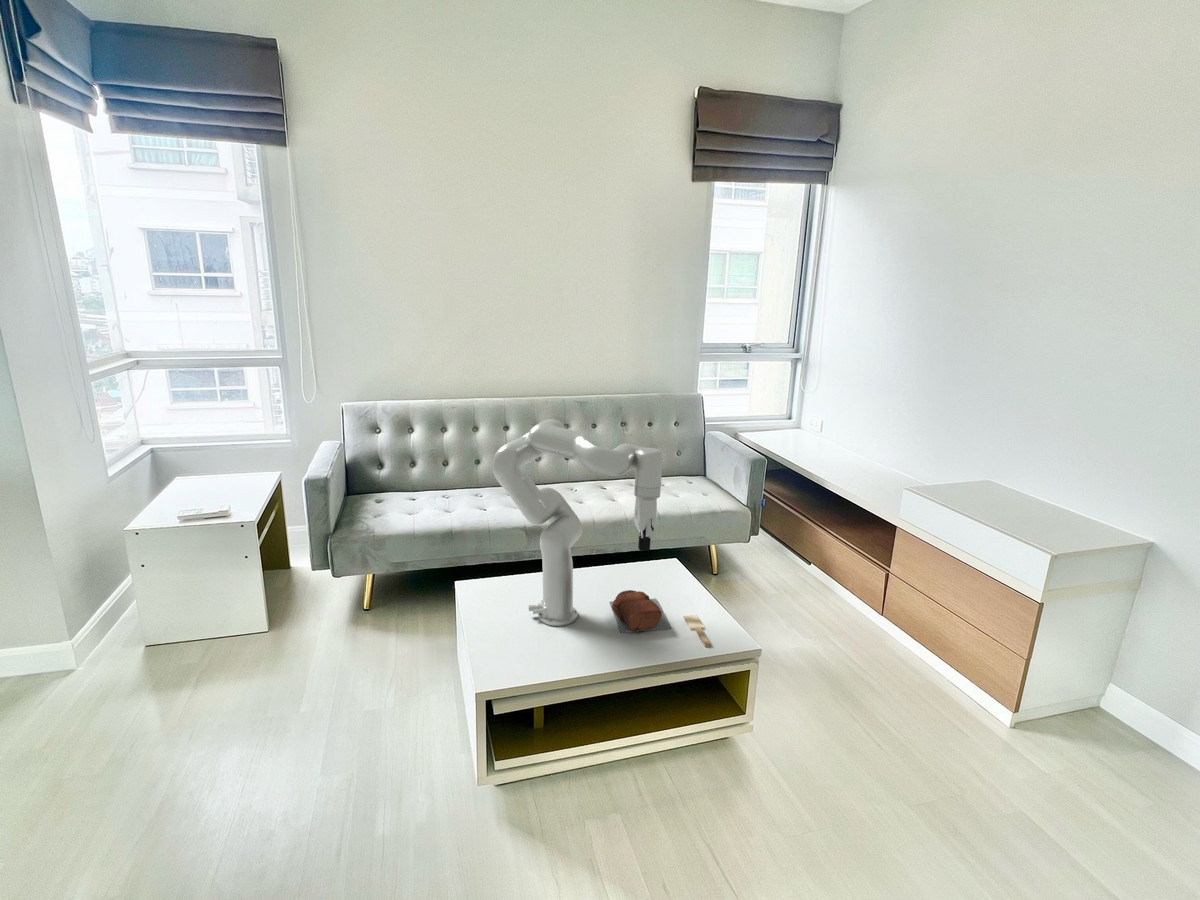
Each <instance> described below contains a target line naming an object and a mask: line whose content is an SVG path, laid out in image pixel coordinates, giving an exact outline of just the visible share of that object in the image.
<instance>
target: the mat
mask: <svg viewBox="0 0 1200 900" xmlns="http://www.w3.org/2000/svg"><path fill="white" fill-rule="evenodd" d="M649 599H650V600H652V601H653V602H655V603H656V604H657V605H658V607H659V608H660V610H661V612H662V616H661V618H660V621H659V622H658V624H657V625H656V626H655V627H654V628H652V629H646V630H643V631H642V632H647V631H659V630H672V625H671V624H670V622H669V620H668V618H667V617H666V615H665V612H664V611H663V609H662V607H661V605H660V603H659V600H658V599H657V598H649ZM613 602H614V600H612V601H609V605H610V608H611V611H612V614H613V616H614V619H615V623H616V624H617V627H618V630H619V633H633V632H634V633H635V632H640V631H639V630H636V631H631V630H630V629H629V627H628V626H627V624H626V623H625V622H623V621H621V620H620V619H619V618H618V617H617V615H616V614H615V612H614V611H613V610H612V604H613Z"/></svg>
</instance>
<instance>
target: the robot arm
mask: <svg viewBox="0 0 1200 900" xmlns="http://www.w3.org/2000/svg"><path fill="white" fill-rule="evenodd" d="M544 454H549V455H554V456H557V457H560V458H564V459H569V460H572V461H574V462H576V463H578V464H579V465H581V466H582V467H584V468H585V469H588V470H590V471H592V472H596V473H600V474H603V475H607V476H611V477H621V476H624V475H625V474H627V473H628V472H629V471H631V470H635V473H634V475H635V476H634V494H633V495H634V497H635V504H634V513H633V521H634V522H633V523H634V525H635V527H636V529H637V530H638V533H639V534H638V535H639V536H638V546H637V547H638V550H639V551H650V549H651V537H652V532H655V531H656V528H657V527H656V526H657V506H658V503H657V502H658V500H657V499H659V498H660V497H661V490H662V473H663V472H662V471H663V459H664V458H663V457H664V455H663V452H662V451H661V450H660V449H658V448H656V447H643V446H640V445H636V444H632V443H628V442H627V443H621V444H619V445H617V446H616V447H615V448H613V449H610V448H606V447H602V446H598V445H595V444H593V443H591V442H590V441H589V440H588V438H587V437H586V435H585V433H583V432H581V431H577V430H572V429H568V428H566V427H565V425H564V424H563V423H562V422H561V421H559V420H557V419H555V418H554V419H553V418H552V419H551V418H549V419H546V420H543V421H541V422H539V423H537V424H535V425H534V426H533V427H532V428H531V429H530V430H529V432H527V433H525V434H524V435H522V436H520V437H518V438H517V439H514V440H512V441H509V442H508V443H505V444H503V445H502V446H501V447H500V448H498V449H497V451H495V454H494V455H493V459H492V473H493V476H494V477H495V480H496V481H497V482H498V483H499V486H501V487H502V488H503V490H504V491H505V492H506V493H507V494H508V496H509V497H510V498H511V501H513V503H514V504H515V506H516V507H517V508H518V510H519V511H520V513H521V514H522V515H523V517H524V518H525V520H527V522H528V523H529V524H531V525H533V526H541V525H543V524H545V523H546V522H548V523H549V524H548V525H547V526H546V527H545V528H544V529H543V531H542V533H541V534H540V537H539V547H540V553H541V559H542V564H541V565H542V600H541V603H538V604H529V605H528V612H532V615H537V617H538V620H539V621H540V622H541V623H543V624H546V625H548V626H554V627H556V626H557V627H561V626H562V627H563V626H567V625H569V624H571V623H574V622H575V621H576V620H577V618H578V614H579V613H578V610H577V608H575V607H573V606H574V603H573V602H574V601H573V600H574V594H573V593H574V591H573V590H574V586H573V585H574V566H573V565H574V563H573V557H572V552H571V551H572V550H571V548H572V547H573V545H574V544H575V543H576V542H577V541H578V540H579V539H580V538H581V536H582V534H583V524H582V521H581V520H580V519H579V517H578V515H577V514H576V512H575V511H574V509H573V508H572V507H571V506H570V504H569V503H568V502H567V501H566V499H565V498H564V496H563V495H562V494H561V493H560V492H559V491H557V490H556V489H554V488H552V487H542V488H540V489H539V488H538V486H537V485H536V484H535V483H534V481H533V480H532V478H531V477H530V476H529V475H527V473H524V471H522V468H523V466H526V465H527V464H530V463H531V462H533V461H534V460H536V459H538V458H539V457H541V456H543V455H544Z"/></svg>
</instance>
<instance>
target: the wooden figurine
mask: <svg viewBox="0 0 1200 900" xmlns="http://www.w3.org/2000/svg"><path fill="white" fill-rule="evenodd" d="M650 599H651V598H650V596H649V595H648V594H647V593H645V592H643V591H636V590H631V589H629V590H623V591H621V592H619V593H618V594H617V595H616V596H615V599H614V600H613V601H614V602H613V604H612V608H611V611H612V610H613V611H614V612H615V614H616V615H617V617H618V618H619V619H620V620H621V621H623V622H625V623H626V624H627V626H628V627H629V629H630V630H631V631H635V632H637V631H636V630H639V631H638V632H644V631H643V630H646V629H652V628H654V627H655V626H656V625H657V624H658V622H659V621H660V618H661V616H662V612H661V610H660V608H659V607H658V605H657V604H656V603H655V602H653V601H652V600H650ZM613 611H612V612H613Z"/></svg>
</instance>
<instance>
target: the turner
mask: <svg viewBox="0 0 1200 900" xmlns="http://www.w3.org/2000/svg"><path fill="white" fill-rule="evenodd" d="M682 617H683V620H684V621H685V623H686V625H687V626H688V628H689V630H690V631H695V632H696V634H697V636H698V637H699V639H700V641H701V643H702V644H703V646H704V647H705V648H710V646H711V645H712V643H711V642H710V640H709V638H708V637H707V635H706V634H705V632H704V631H703V630H705V626H704V624H703V623H702V622H701V620H700V619H699V617H698V616H697V614H693V615H692V614H690V615H689V614H688V615H683V616H682ZM711 647H712V646H711Z"/></svg>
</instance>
